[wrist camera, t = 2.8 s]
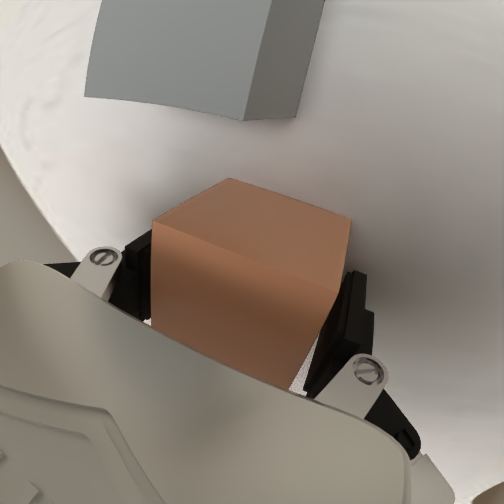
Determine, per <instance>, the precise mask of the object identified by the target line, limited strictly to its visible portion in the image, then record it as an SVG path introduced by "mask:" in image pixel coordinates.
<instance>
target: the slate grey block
mask: <svg viewBox="0 0 504 504" xmlns="http://www.w3.org/2000/svg"><path fill="white" fill-rule="evenodd" d="M324 2H325V0H102V3H101V7H100V10H99V14H98V18H97V23H96V27H95V32H94V36H93V41H92V47H91V52H90V58H89V64H88V70H87V77H86V85H85V93H84V97H93V98H106V99H117V100H126V101H135V102H143V103H150V104H158V105H164V106H171V107H177V108H183V109H188V110H194V111H199V112H204V113H209V114H214V115H219V116H223V117H228V118H232V119H237V120H241V121H247V120H259V119H272V118H288V117H296V113H297V109H298V105H299V101H300V97H301V93H302V90H303V86H304V82H305V78H306V74H307V70H308V66H309V62H310V58H311V54H312V50H313V46H314V42H315V38H316V34H317V30H318V26H319V22H320V18H321V14H322V10H323V6H324Z"/></svg>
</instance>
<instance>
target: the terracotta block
mask: <svg viewBox="0 0 504 504" xmlns="http://www.w3.org/2000/svg"><path fill="white" fill-rule="evenodd" d="M351 221H352V220H351V219H348V218H346V217H343V216H340V215H338V214H335V213H332V212H330V211H327V210H324V209H321V208H319V207H316V206H313V205H310V204H307V203H304V202H302V201H299V200H296V199H293V198H290V197H287V196H284V195H281V194H278V193H275V192H272V191H269V190H266V189H263V188H260V187H257V186H254V185H251V184H247V183H244V182H241V181H238V180H235V179H231V178H228V179H226V180H224V181H222V182H220V183H218V184H216V185H214V186H213V187H211V188H209V189H207V190H205V191H203V192H201V193H200V194H198V195H196V196H194V197H192V198H191V199H189V200H187V201H185V202H183V203H182V204H180V205H178V206H176V207H175V208H173V209H171V210H169V211H168V212H166V213H164V214H162V215H161V216H159V217H157V218H156V219H154V220H152V241H151V326H152V327H153V328H155V329H157V330H159V331H161V332H163V333H165V334H167V335H168V336H170V337H172V338H174V339H176V340H178V341H180V342H182V343H184V344H186V345H188V346H190V347H192V348H194V349H196V350H198V351H200V352H202V353H205V354H207V355H209V356H211V357H213V358H215V359H217V360H219V361H222V362H224V363H226V364H228V365H230V366H233V367H235V368H237V369H239V370H242V371H244V372H246V373H249V374H251V375H253V376H256V377H258V378H260V379H263V380H265V381H268V382H270V383H273V384H275V385H278V386H280V387H283V388H285V389H289V388H290V386H291V384H292V382H293V380H294V379H295V377H296V375H297V373H298V372H299V370H300V368H301V366H302V364H303V362H304V361H305V359H306V357H307V355H308V353H309V351H310V349H311V347H312V346H313V344H314V342H315V340H316V338H317V336H318V334H319V332H320V330H321V328H322V326H323V324H324V322H325V320H326V318H327V316H328V314H329V312H330V310H331V308H332V306H333V304H334V302H335V299H336V297H337V295H338V293H339V289H340V284H341V279H342V274H343V268H344V263H345V257H346V252H347V246H348V240H349V234H350V227H351Z"/></svg>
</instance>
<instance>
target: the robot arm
mask: <svg viewBox="0 0 504 504" xmlns="http://www.w3.org/2000/svg"><path fill="white" fill-rule="evenodd" d="M151 241H152V229H151V230H150V231H148V232H146V233H145V234H143V235H142V236H140V237H139V238H137V239H136V240H134V241H132V242H131V243H129V244H128V245H126V246H125V250H124V251H122V252H120V251H119V250H117V249H116V248H113V247H106V246H104V247H98V248H95V249H93V250H91V251H90V252H89V253H88V254H87V255H86V256H85V258H84V259H83V260H82V262H72V263H57V264H43V265H42V264H39V263H36V262H31V261H25V260H17V261H13V262H10V263H8V264H6V265H4V266H2V267H0V504H454V502H455V495H454V492H453V490H452V488H451V487H450V485H449V484H448V482H447V481H446V480H445V478H444V477H443V476H442V474H441V473H440V472H439V470H438V469H437V468H436V466H435V465H434V463H433V462H432V461H431V459H430V458H429V457H428V455H427V454H425V455H422V454H421V452H420V448H421V441H420V437H419V435H418V433H417V431H416V430H415V429H414V427H413V426H412V425H411V423H410V422H409V421H408V419H407V418H406V417H405V415H404V414H403V413H402V412H401V410H400V409H399V408H398V406H397V405H396V404H395V402H394V401H393V400H392V399H391V397H390V396H389V395H388V393H387V392H386V391H385V390H384V387H385V385H386V384H387V381H388V372H387V370H386V367H385V366H384V365H383V363H382V362H381V361H380V360H378V359H377V358H375V357H373V356H372V347H373V332H374V312H372V311H369V310H366V309H365V298H366V281H367V275H366V274H363V273H361V272H358V271H355V270H353V272H352V273H350V272H347V273H346V275H345V278H344V280H343V282H342V284H341V286H340V289H339V293H338V295H337V297H336V299H335V302H334V304H333V306H332V308H331V310H330V312H329V314H328V316H327V318H326V320H325V322H324V324H323V326H322V328H321V330H320V334H319V338H318V341H317V345H316V348H315V351H314V355H313V358H312V362H311V365H310V368H309V371H308V375H307V378H306V381H305V384H304V387H303V391H306V392H307V395H306V396H303V395H300V394H298V393H295V392H293V391H290V390H288V389H285V388H283V387H280V386H278V385H275V384H273V383H270V382H268V381H265V380H263V379H260V378H258V377H256V376H253V375H251V374H249V373H246V372H244V371H242V370H239V369H237V368H235V367H233V366H230V365H228V364H226V363H224V362H222V361H219V360H217V359H215V358H213V357H211V356H209V355H207V354H205V353H202V352H200V351H198V350H196V349H194V348H192V347H190V346H188V345H186V344H184V343H182V342H180V341H178V340H176V339H174V338H172V337H170V336H168V335H167V334H165V333H163V332H161V331H159V330H157V329H155V328H153V327H152V326H150V325H148V324H146V323H144V322H143V321H144V320H145V319H146V320H148V319H150V318H151Z"/></svg>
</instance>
